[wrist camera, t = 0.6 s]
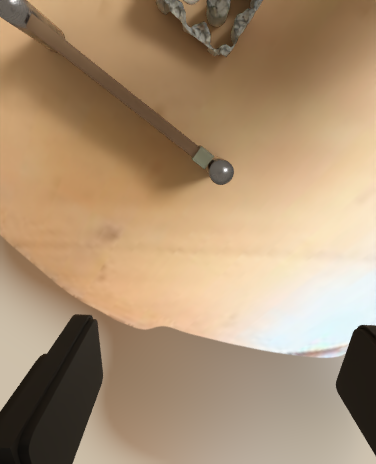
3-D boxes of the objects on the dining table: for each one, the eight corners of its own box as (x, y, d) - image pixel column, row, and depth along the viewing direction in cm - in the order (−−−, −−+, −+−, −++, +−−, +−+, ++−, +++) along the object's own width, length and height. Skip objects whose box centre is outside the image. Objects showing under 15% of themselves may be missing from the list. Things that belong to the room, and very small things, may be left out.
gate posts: (49, 20, 26) (-7, -28, 19) (227, 163, 31) (238, 170, 24) (40, 42, 27) (-18, 3, 20) (215, 178, 32) (223, 189, 25)
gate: (68, 40, 27) (29, 8, 20) (209, 153, 31) (214, 156, 24) (61, 54, 27) (22, 27, 21) (201, 163, 31) (204, 169, 25)
